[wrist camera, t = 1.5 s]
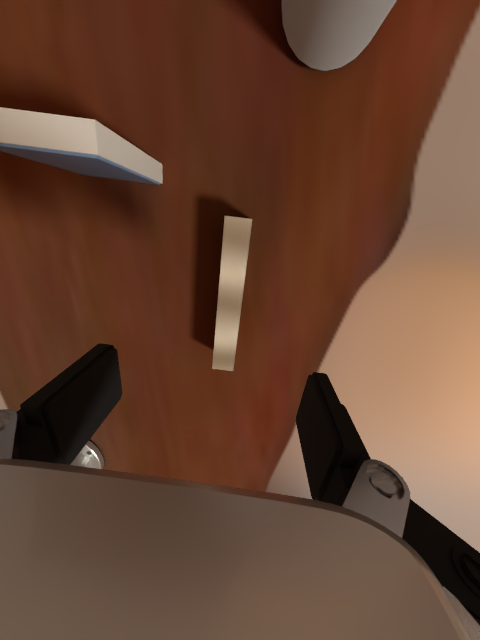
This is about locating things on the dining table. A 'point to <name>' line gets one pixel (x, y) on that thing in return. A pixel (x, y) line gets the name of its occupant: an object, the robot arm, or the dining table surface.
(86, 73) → the dining table surface
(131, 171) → the tile
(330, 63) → the can
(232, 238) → the cream wooden plank
